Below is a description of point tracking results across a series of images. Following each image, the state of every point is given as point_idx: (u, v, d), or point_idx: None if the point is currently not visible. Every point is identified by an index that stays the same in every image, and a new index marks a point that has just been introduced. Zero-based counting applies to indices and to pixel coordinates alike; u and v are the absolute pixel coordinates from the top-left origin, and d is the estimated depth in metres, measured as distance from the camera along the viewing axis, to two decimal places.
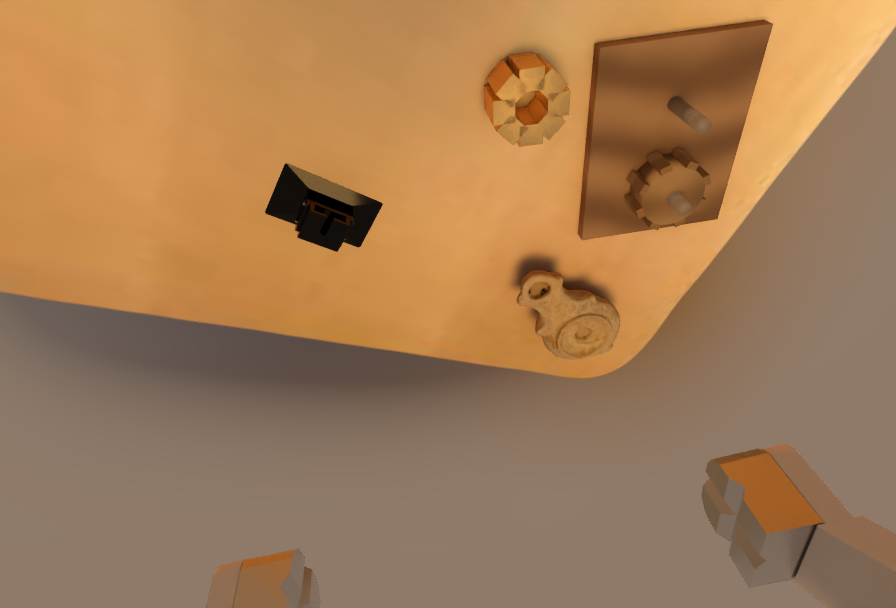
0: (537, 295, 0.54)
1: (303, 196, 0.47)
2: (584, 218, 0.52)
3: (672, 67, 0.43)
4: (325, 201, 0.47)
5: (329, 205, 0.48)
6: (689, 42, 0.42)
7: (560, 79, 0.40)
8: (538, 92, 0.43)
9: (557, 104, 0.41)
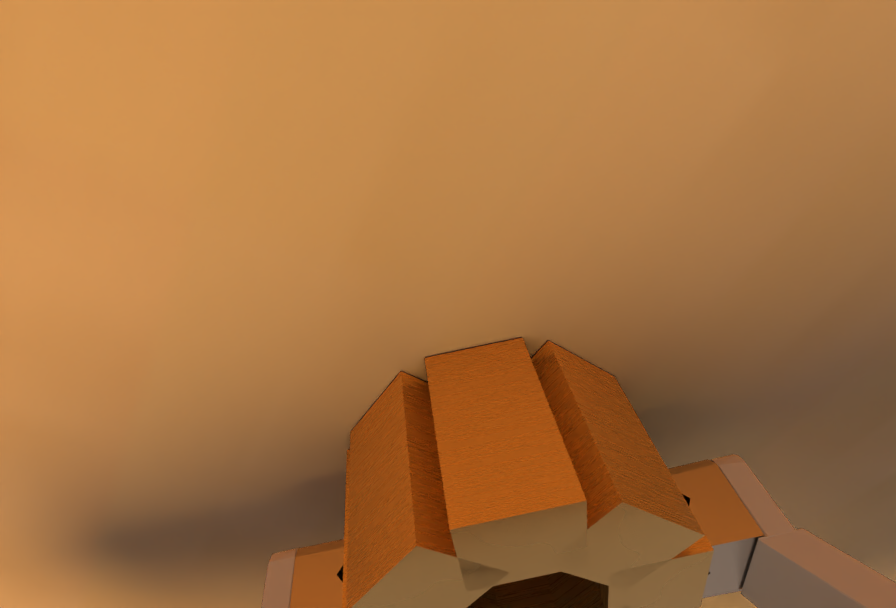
0: None
1: None
2: None
3: None
4: None
5: None
6: None
7: None
8: None
9: None
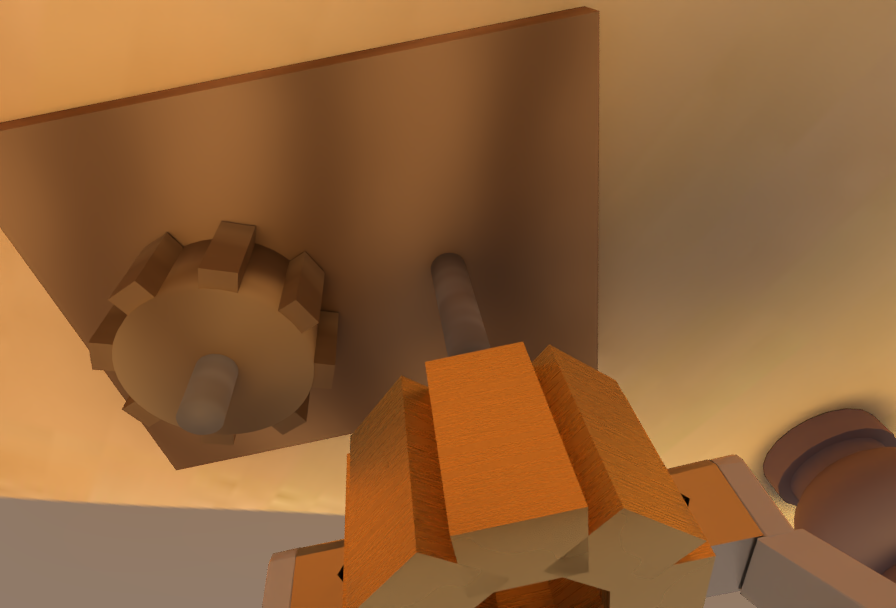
0: None
1: None
2: (34, 126, 0.14)
3: (532, 231, 0.18)
4: None
5: None
6: (583, 247, 0.19)
7: None
8: None
9: None
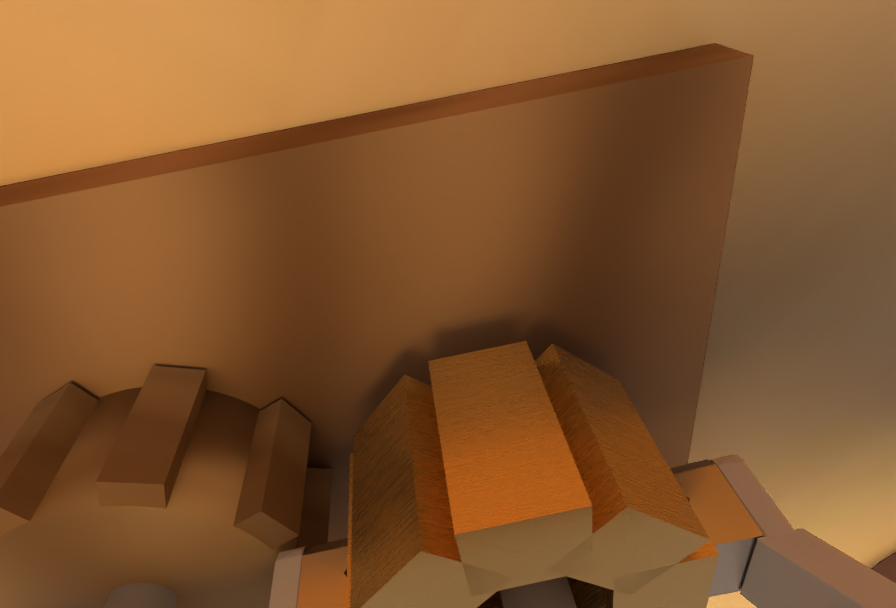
0: None
1: None
2: None
3: (612, 361, 0.12)
4: None
5: None
6: (680, 377, 0.13)
7: None
8: None
9: None
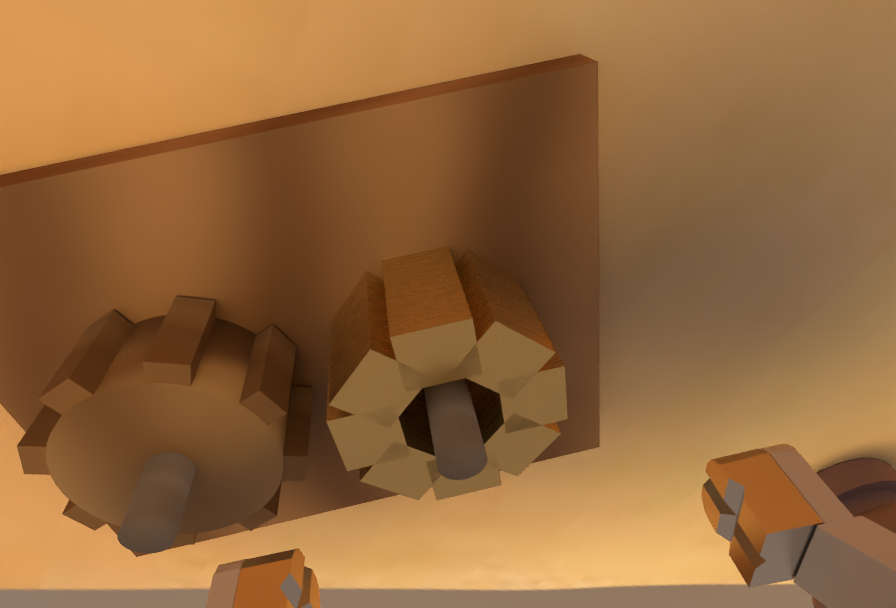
0: None
1: None
2: None
3: None
4: None
5: None
6: (582, 310, 0.17)
7: (531, 458, 0.15)
8: None
9: None
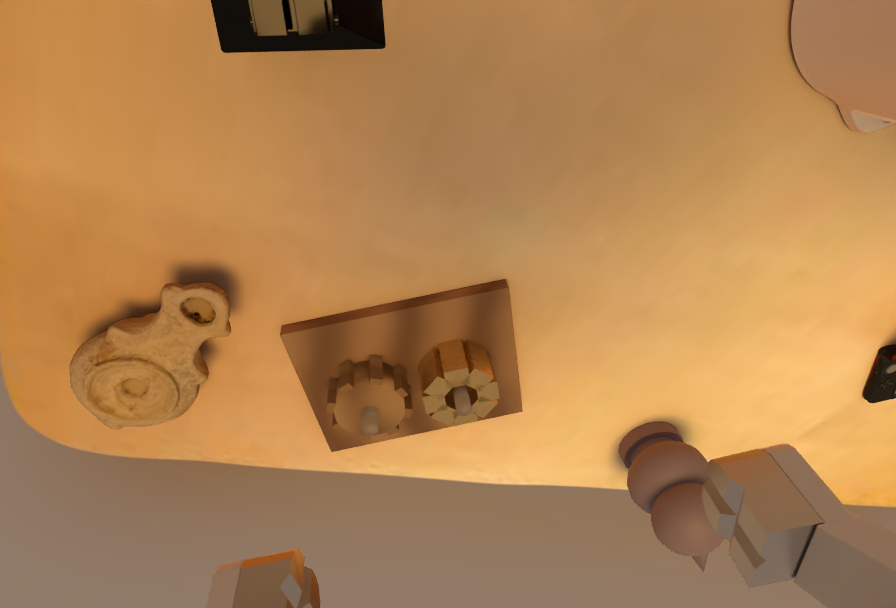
0: (185, 310, 0.37)
1: (336, 6, 0.30)
2: (312, 328, 0.41)
3: (489, 353, 0.45)
4: None
5: None
6: (510, 358, 0.46)
7: (487, 411, 0.44)
8: None
9: None
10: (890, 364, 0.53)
